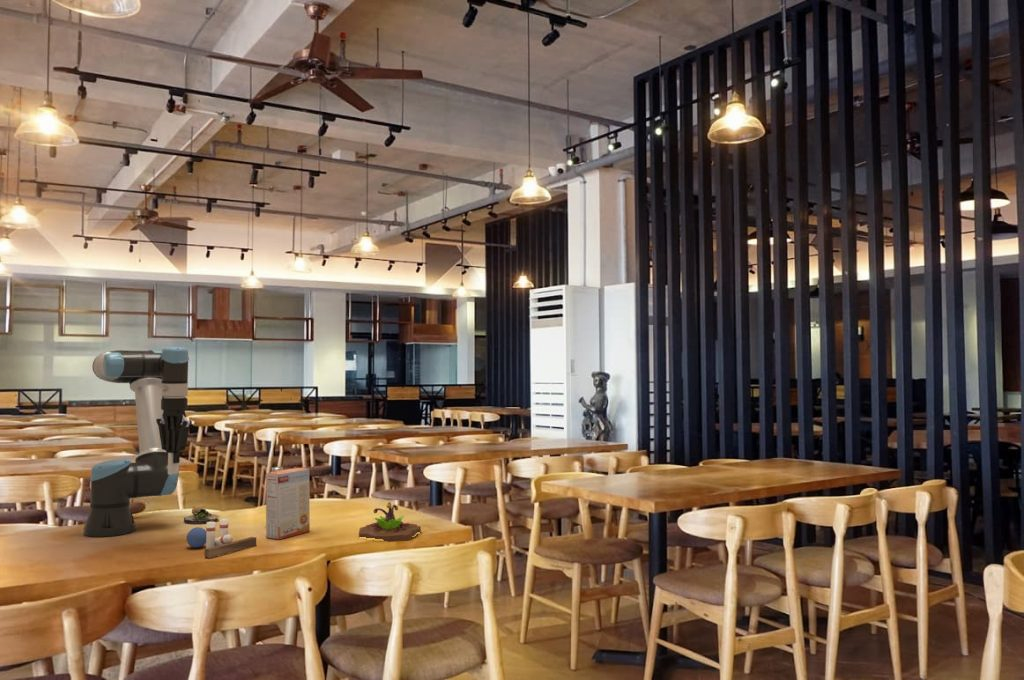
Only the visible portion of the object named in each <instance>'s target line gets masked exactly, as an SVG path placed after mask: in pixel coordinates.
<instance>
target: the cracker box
mask: <svg viewBox="0 0 1024 680" xmlns="http://www.w3.org/2000/svg"><path fill="white" fill-rule="evenodd" d="M265 503H266V504H265V510H266V512H265V513H266V514H265V516H266V517H265V519H266V521H265V522H266V524H265V525H266V527H265V528H266V530H265V532H266V534H265V535H266V537H265V538H266V539H271V540H283V539H285V538H290V537H294V536H297V535H301V534H305V533H309V532H311V531H310V529H311V528H310V525H311V524H310V522H311V518H310V513H311V512H310V511H311V510H310V468H305V467H295V468H288V469H283V470H281V471H275V472H271V471H270V472H266V473H265Z"/></svg>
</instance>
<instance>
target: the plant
mask: <svg viewBox="0 0 1024 680" xmlns="http://www.w3.org/2000/svg"><path fill="white" fill-rule="evenodd" d="M386 509H388V512H387V511H386V510H385V509H383V508H379V507H378V508H377V507H376V508H374V509H373V514H377V513H378V511H381V512H382V513H384V515H385V516H382V515H380V516H379V518H377V517H373V519H374V520H375V521H376V522H372V523H371V524H366V525H365V526H363V527H360V528H359V531H358V538H359V537H366V538H375V539H383V540H384V541H387V543H389V542H405V541H406V542H408V541H411V540H412V539H413V538H412V536H414V535H415V534H416V533H417V532H420V531H421V532H422V529H421V526H419V525H418V524H415V523H410V522H406V523H405V522H404V521H402V520H403V519H404V518H405V515H403V516H399V517H398V518H396V516H395V513H394V512H395V511H398V510H399V507H398V506H397V505H396V504H393V505H392V503H391V502H387V504H386ZM411 538H412V539H411Z"/></svg>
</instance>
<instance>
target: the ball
mask: <svg viewBox="0 0 1024 680" xmlns="http://www.w3.org/2000/svg"><path fill="white" fill-rule="evenodd" d="M206 533H207V531H206V529H204V528H203V527H200V526H199V527H193V528H191V529H190V530H189V531H188V532H187V535H186V542H187V544H188V545H189V547H191V548H195V549H198V548H202V547H203V546H205V545H206Z"/></svg>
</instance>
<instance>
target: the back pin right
mask: <svg viewBox="0 0 1024 680" xmlns="http://www.w3.org/2000/svg"><path fill="white" fill-rule="evenodd" d="M205 530H206V532H207V533H206V543H205V546H206V547H205V549H207V548H211V547H215V538H216V521H209V522H206V529H205Z"/></svg>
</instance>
